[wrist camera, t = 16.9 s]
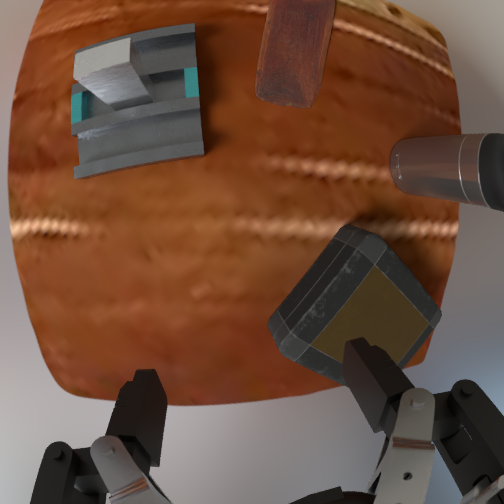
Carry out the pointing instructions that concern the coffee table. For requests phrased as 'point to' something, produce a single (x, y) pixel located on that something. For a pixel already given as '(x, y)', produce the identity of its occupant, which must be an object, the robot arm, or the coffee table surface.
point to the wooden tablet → (294, 51)
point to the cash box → (353, 306)
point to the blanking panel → (115, 75)
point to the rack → (143, 110)
